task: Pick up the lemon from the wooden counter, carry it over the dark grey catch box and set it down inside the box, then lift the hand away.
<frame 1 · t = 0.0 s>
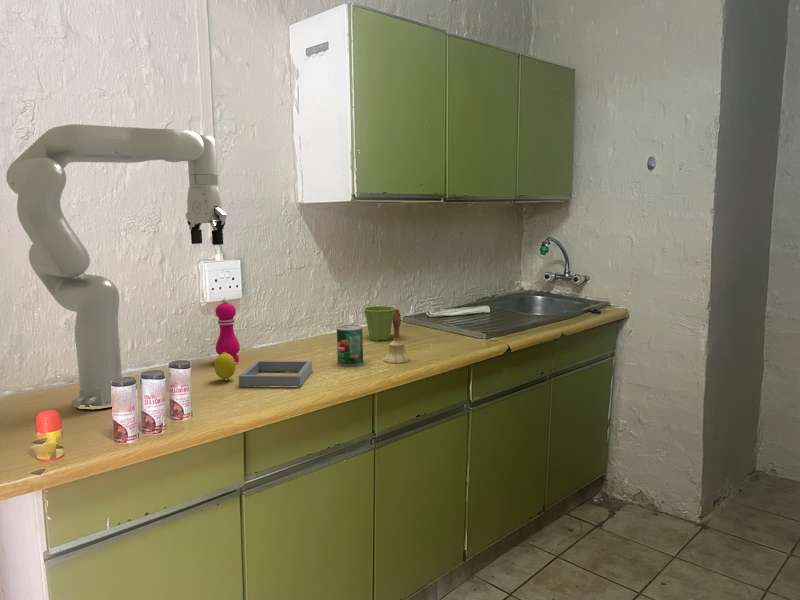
hand: (207, 244, 172), 37 cm above the worktop, tool pointing down, fingers open, 9 cm apart
plant pot: (379, 339, 220), on the worktop
pepper mill: (228, 362, 190), on the worktop
catch box: (277, 378, 171), on the worktop
lemon: (225, 381, 170), on the worktop
canned tomato: (350, 363, 188), on the worktop
hand bell: (396, 360, 190), on the worktop
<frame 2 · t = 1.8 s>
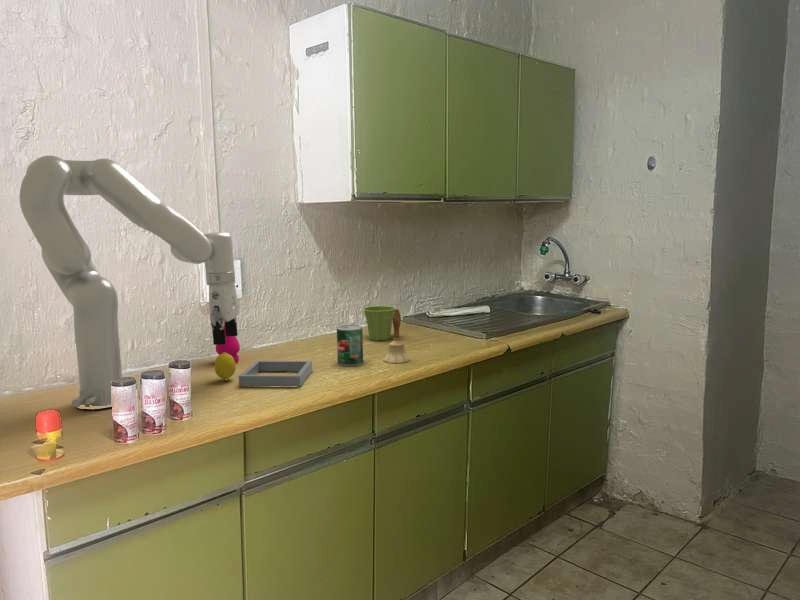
hand: (226, 340, 169), 11 cm above the worktop, tool pointing down, fingers open, 9 cm apart
nothing on the worktop moved.
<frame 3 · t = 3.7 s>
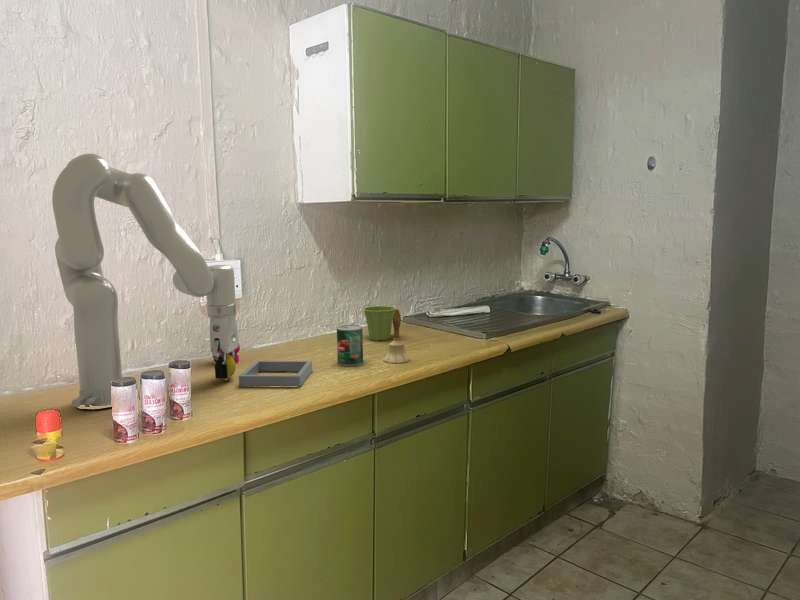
hand: (225, 374, 170), 2 cm above the worktop, tool pointing down, fingers closed on lemon, 5 cm apart
lemon: (225, 381, 170), on the worktop, touching gripper
everything else where it was.
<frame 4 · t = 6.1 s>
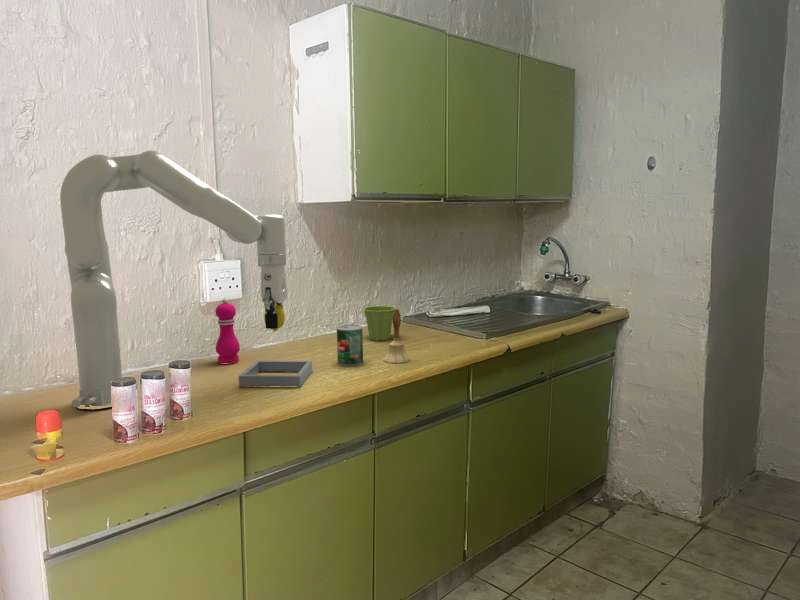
hand: (274, 325, 169), 15 cm above the worktop, tool pointing down, fingers closed on lemon, 5 cm apart
lemon: (275, 332, 169), point 13 cm above the worktop, touching gripper
everything else where it was.
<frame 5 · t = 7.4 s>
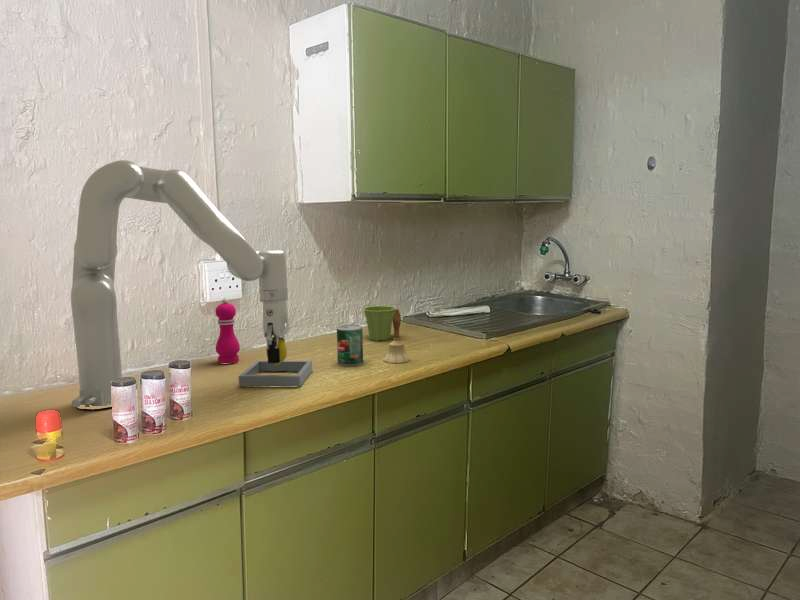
hand: (276, 359, 170), 6 cm above the worktop, tool pointing down, fingers closed on lemon, 5 cm apart
lemon: (277, 365, 171), point 4 cm above the worktop, touching gripper
everything else where it was.
when the fingers open (3 cm above the worktop, at t = 8.6 s): lemon drops 2 cm, resting in catch box.
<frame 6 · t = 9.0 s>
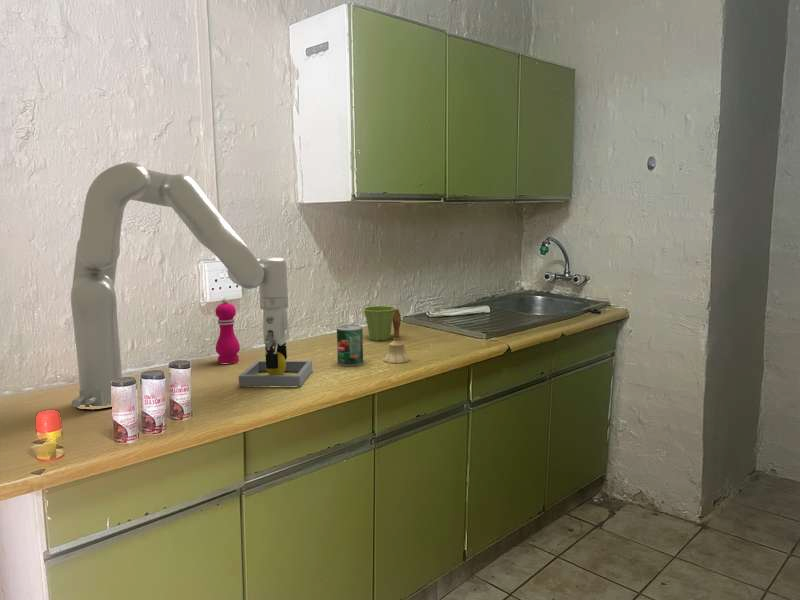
hand: (276, 363, 171), 4 cm above the worktop, tool pointing down, fingers open, 9 cm apart
lemon: (276, 379, 171), resting in catch box
everything else where it was.
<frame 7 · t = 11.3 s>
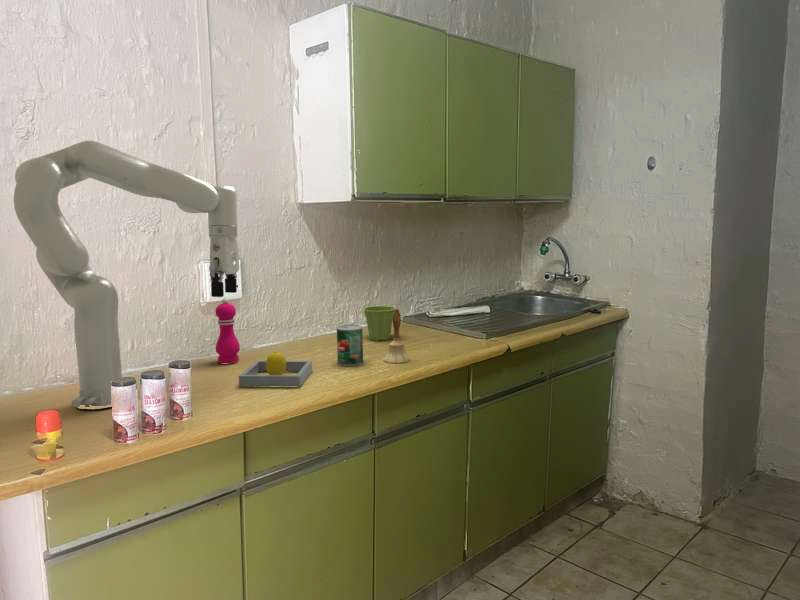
hand: (224, 294, 170), 24 cm above the worktop, tool pointing down, fingers open, 9 cm apart
nothing on the worktop moved.
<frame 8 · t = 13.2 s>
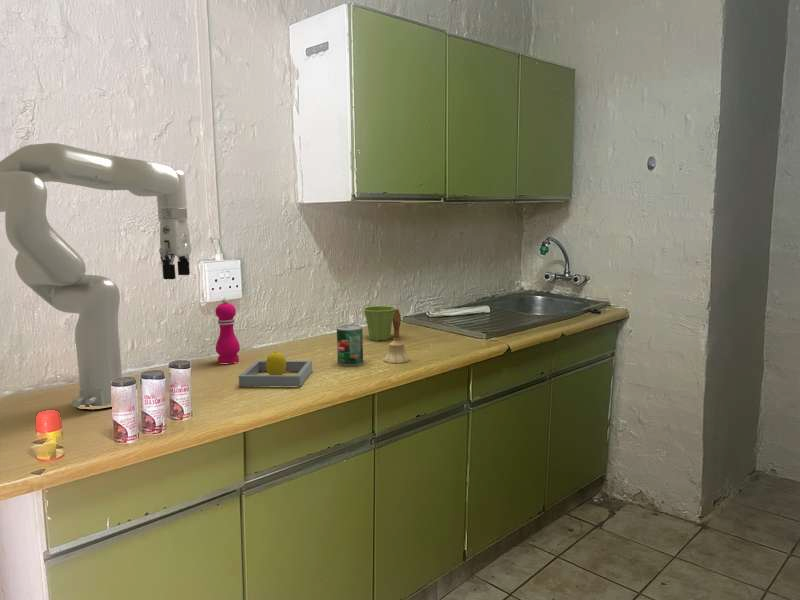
hand: (177, 277, 172), 28 cm above the worktop, tool pointing down, fingers open, 9 cm apart
nothing on the worktop moved.
at the end: lemon inside the target area on the catch box (0.3 cm from its centre), point 0.0 cm above the catch box's base; the gripper is holding nothing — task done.
